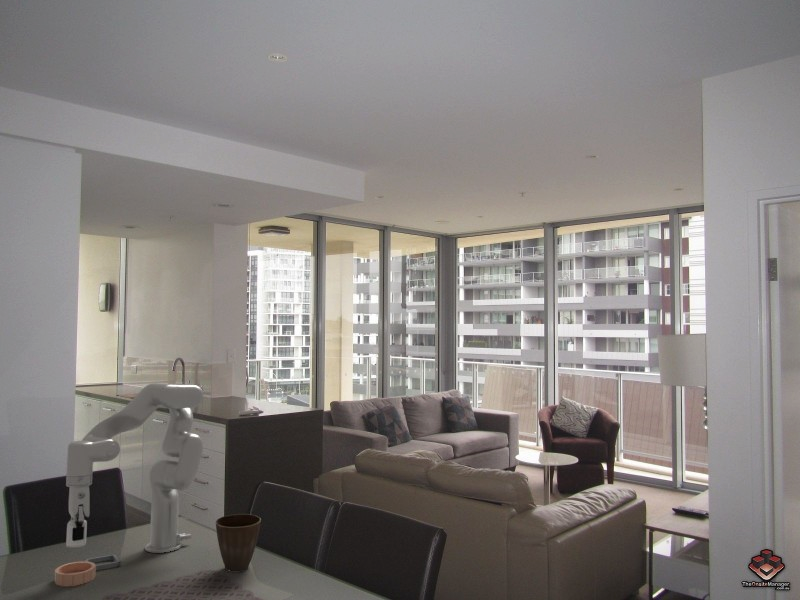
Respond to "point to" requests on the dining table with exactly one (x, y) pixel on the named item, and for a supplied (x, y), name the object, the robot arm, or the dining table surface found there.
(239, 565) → the plant pot
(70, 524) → the eye dropper bottle
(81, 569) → the bowl
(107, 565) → the open rectangular frame
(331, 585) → the dining table surface
